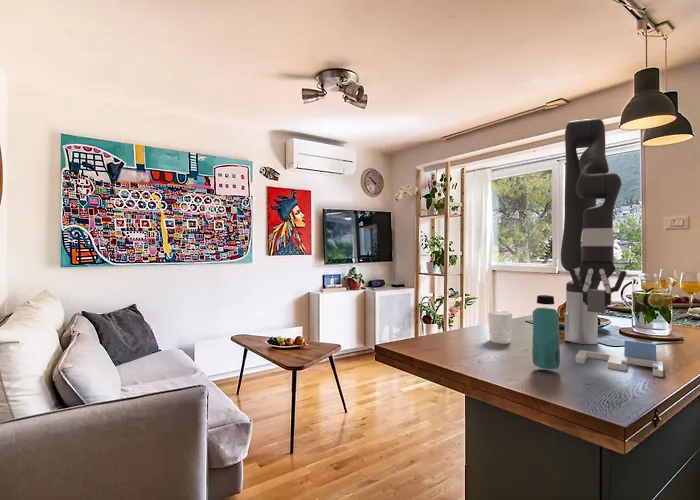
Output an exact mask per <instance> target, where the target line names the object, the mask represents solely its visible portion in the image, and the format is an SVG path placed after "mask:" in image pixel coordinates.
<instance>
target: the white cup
mask: <svg viewBox="0 0 700 500" xmlns="http://www.w3.org/2000/svg"><path fill="white" fill-rule="evenodd" d="M487 320H488V321H487V322H488V334H489V341H490V342H491V343H494V344H499V345H500V344H501V345H502V344H503V345H507V344H510V343H512V340H511V339H512V332H513V331H512V329H513V312H512V311H511V312H510V311H505V310H488V312H487Z"/></svg>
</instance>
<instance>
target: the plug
mask: <svg viewBox="0 0 700 500" xmlns="http://www.w3.org/2000/svg"><path fill="white" fill-rule="evenodd" d="M587 312H597V313H598V314H605V313H606V312H607V307H605V289H599V288H598V289H589V290H588V294H587Z"/></svg>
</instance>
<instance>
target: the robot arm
mask: <svg viewBox="0 0 700 500" xmlns="http://www.w3.org/2000/svg"><path fill="white" fill-rule="evenodd" d="M564 141H565V142H564V146H565V185H564V220H563V231H562V232H563V233H562V240H561V246H560V247H561V248H560V264H561V266H562V268H563V269H564V270H565V271H566V272H569V274H570V276H571V279H572V280H570V281H568V282H566V285H565V313H564V341H566V342H570V343H574V344H581V345H596V344H598V339H599V338H598V337H599V334H598V327H599V324H598V323H599V322H598V319H599V318H598V317H599V316H598V314H599V313H597V312H587V294H588V290H589V289H598V290H599V286H600V284H601V282H602V284H603V288H604V290H605V307H606V308H608V307H609V306H611V303H612V293H615V292H619V290H620V289H621V286H622V284H623V282H624V280H625V278H626V275H627V271H626V270H621V269H618V268H617V267H616V266H615V264H614V263H615V262H614V244H615V240H614V238H615V237H614V231H613V230H614V228H613V227H614V222H613V221H614V210H615V209H614V208H615V206H616V205H615V204H616V202H617V198H618V196H619V193H620V191H621V188H622V179H621V177H620V176H619V174H617V173H616V172H610V168H609V164H608V161H607V157H606V129H605V124H604V121H603V119H601V118H586V119H579V120H571V121H569V122H568V123H566V127H565V131H564ZM577 149H585V150H584V151H583V153H581V155H580V158H579V156H578V151H577ZM599 199H601V200H602V199H604V201H603V203H602V204H601V205H597V200H599ZM614 273H615V277H617V280H616V282H615V284H614V286H612V287H611V283H610V280H609V278H610V277H612V275H613V274H614Z"/></svg>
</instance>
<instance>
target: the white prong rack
mask: <svg viewBox="0 0 700 500" xmlns="http://www.w3.org/2000/svg"><path fill="white" fill-rule="evenodd" d="M623 348H624V356H623V355H617V354H610V353H605V352H604V353H603V352H597V351H589V350H582V349H579V351H578V353H577V354H576V356H575V361H574V362H575V363H577V364H582V365H583V364H585V362H586V360H587V359H588V358H591V359H598V360H603V361H604V360H605V361H607V368H608V369H612V370H618V371H625V372H627V368H628V365H629V364H630V365H635V366H640V367H641V366H642V367H649V368H652V376H654V377H660V378H663V377H664V366H663V364H664V363H663V361H658V360H657V343H651V342H645V341H637V340H636V341H635V340H629V339H624V347H623Z"/></svg>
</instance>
